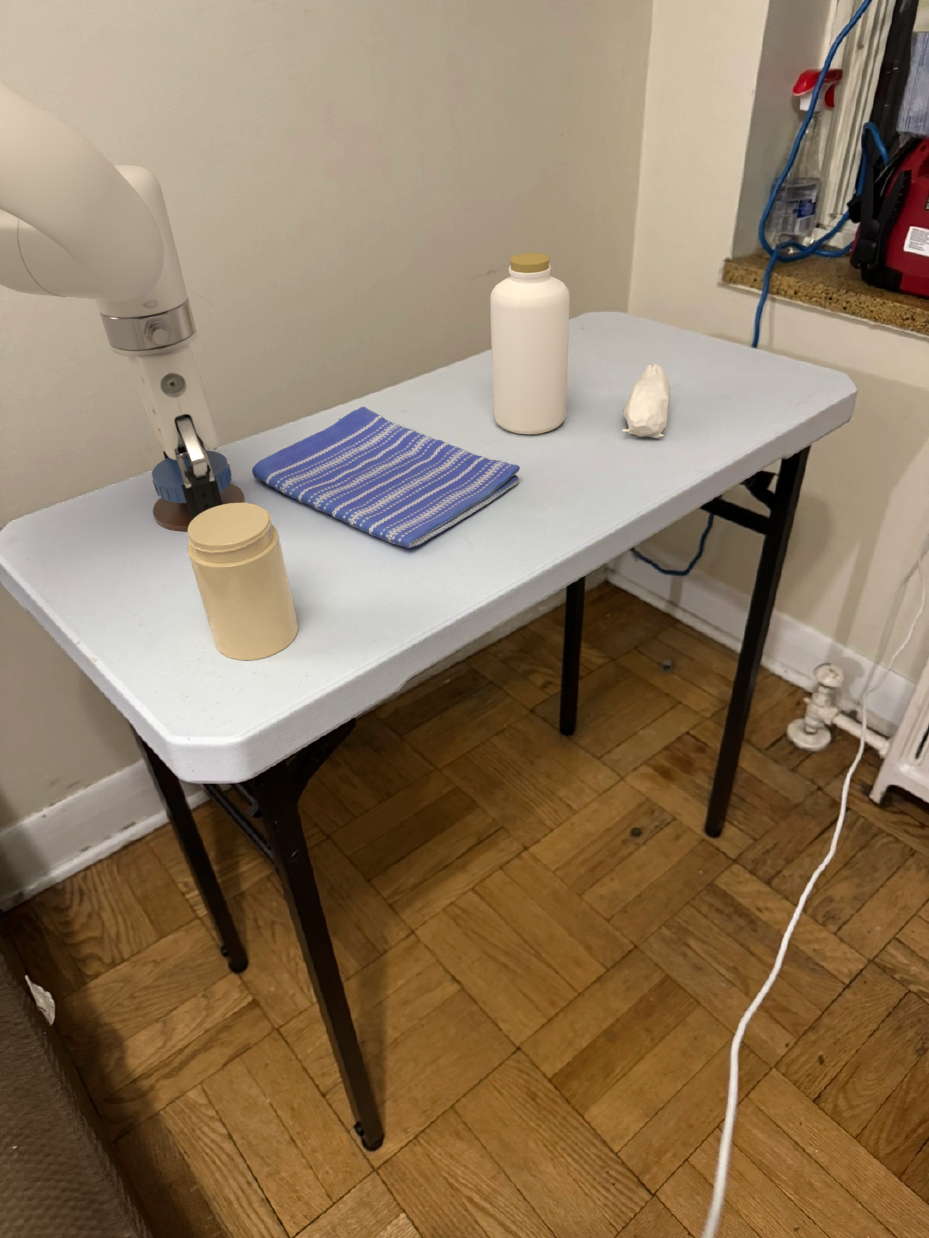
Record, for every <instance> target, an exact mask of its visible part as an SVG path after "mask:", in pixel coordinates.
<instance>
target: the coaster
mask: <svg viewBox="0 0 929 1238" xmlns="http://www.w3.org/2000/svg"><path fill="white" fill-rule="evenodd" d="M220 496H221V500H222V504H229V503H246V502H245V501H246V500H245V495H244V492H243V490H242V489H241V488H240V487H239V486H237V485H236V484H234V483H230V485H229V486H228V487H227V488H226V489H225V490H224V491H222V492H221V493H220ZM152 514H153V518H154V520H155V522H156V523H157V524H158V525H159V526H160V527H162V528H164V529H167V530H171V531H176V532H188V526H189V524H190V522H191V521H192V520H191V517H190V514H189V510H188V507H187V503H174V502H169V501H166V500H164V499H162V498H161V497H160V498H159V499H158V500H157V501H156V502H155V503H154V505H153V508H152Z"/></svg>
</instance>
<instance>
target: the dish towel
mask: <svg viewBox="0 0 929 1238" xmlns="http://www.w3.org/2000/svg"><path fill="white" fill-rule="evenodd" d="M520 470H521V467H520V465H519V464H513V463H509V462H508V461H507V462H506V461H504V460H498V459H497V460H496V459H489V458H487V457H486V456H482V455H478V454H475V453H473V452H470V451H468V450H467V449H464V448H462V447H459V446H455V445H452V444H449V442H446V441H443V440H442V439H435V438H433V437H432V436H430V435H426V434H423V433H422V432H421V433H420V432H417V431H416V430H414V429H411V428H407V427H405V426H401V425H400V424H399V423H395V422H392V421H391V420H388V419H386V418H385V417H383V415H380V414H378V413H377V412H374V411H372V410H370V409H369V408H367V407H366V406H361V407H359V408H357V409H355V410H352V411H350V412H349V413H348V414H346V415H344V416H343V417H342V418H340V419H339V420H338V421H336V422H335V423H333V424H332V425H330V426H328V427H327V428H324V429H323V430H321V431H317V432H316V433H314V434H311V435H310V436H308V437H305V438H303V439H301V440H299V441H297V442H295V443H293V444H292V445H289V446H287V447H285V448H282V449H280V450H278V451H276V452H274V453H271V454H270V455H268V456H266V457H264V458H263V459H260V460H259V461H258V462H257V463H255V465H253V467H252V469H251V473H252V475H253V477H254V478H255V479H257V480H259V481H262V482H264V483H265V484H266V485H267V486H269V487H272V488H273V489H275V490H276V491H277V492H280V493H282V494H284V495H286V496H288V497H290V498H291V499H294V500H297V501H298V502H299V503H302V504H306V505H308V506H309V507H312V508H314V509H316V510H317V511H319V512H322V513H325V514H327V515H330V516H331V517H333V518H334V519H337V520H339V521H341V522H344V523H346V524H348V525H349V526H351V527H353V528H355V529H358V530H360V531H362V532H365V533H367V534H369V535H370V536H373V537H376V538H379V539H380V540H382V541H386V542H388V543H390V544H394V545H397V546H400V547H403V548H405V549H406V548H407V549H410V548H415V547H418V546H420V545H422V544H424V543H425V542H427V541H429V540H430V539H433V538H434V537H436V536H437V535H439V534H441V533H443V532H445V531H446V530H448V529H449V528H451V527H453V526H454V525H456V524H458V523H459V522H460V521H462V520H464V519H466V518H467V517H469V516H471V515H472V514H474V513H475V512H477V511H478V510H480V509H482V508H483V507H485V506H487V505H488V504H490V503H491V502H492V501H494V500H495V499H497V498H498V497H500V496H502V495H503V494H504V493H506V492H508V490H510V489H512V488H513V487H515V486H516V485H518V484H519V483H520V478H519V476H518V475H517V474H518V472H519V471H520Z"/></svg>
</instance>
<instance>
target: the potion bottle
mask: <svg viewBox="0 0 929 1238" xmlns="http://www.w3.org/2000/svg"><path fill="white" fill-rule="evenodd" d="M550 260H551V257H550V256H549V255H548V254H545V253H540V252H523V253H518V254H515V255H513V256H511V257H510V258H509V263H510V265H509V267H508V273H509V275H510V276H508V277H506V278H504V279H503V280H502V281H500V282H499V283H497V284H496V285H495V286H494V287H493V289H492V291H491V293H490V298H489V303H490V304H489V306H490V307H489V308H490V309H489V310H490V333H491V334H490V338H491V370H492V372H491V373H492V375H491V376H492V403H493V405H492V407H493V418H494V420H495V422H496V424H497V425H498V426H500V427H501V428H502V429H504V430H505V431H508V432H511V433H512V434H513V433H514V434H520V435H539V434H544V433H548V432H551V431H553V430H554V429H557V428H559V426H561V425H562V423H563V422H564V421H565V420H566V418H567V410H568V409H567V407H568V372H569V371H568V370H569V369H568V368H569V336H570V335H569V333H570V299H571V298H570V295H571V294H570V290H569V288H568V287H567V285H566V284H565V283H564V282H563V281H562V280H560V279H558V278H556V277H554V276H552V275H550V273H551V270H552V265H551V264H550Z"/></svg>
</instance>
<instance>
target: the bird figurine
mask: <svg viewBox="0 0 929 1238" xmlns="http://www.w3.org/2000/svg"><path fill="white" fill-rule="evenodd" d="M670 398H671V383H670V380H669V377H668V375H667V374H666V371H664V369H663V367H662V366H661V365H660V364H657V363H654V365H652V364H648V365H647V367H646V368H645V370H644V371H643V373H642V374H641V375H640V377H639V378H638V380H636V382H635V383H634V385H633V387H632V389H631V391H630V393H629V396H628V398H627V400H626V402H625V404H624V408H623V411H622V412H623V416H624V418H625V420H626V423H627V426H628V428H627V429H626V428H622V430H621V432H622V433H626V434H628V435H631V436H637V437H640V438H641V437H649V438H653V439H660V438H664V437H665V434H662V432H663V431H664V430H666V427H667V421H668V415H669V403H670Z"/></svg>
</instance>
